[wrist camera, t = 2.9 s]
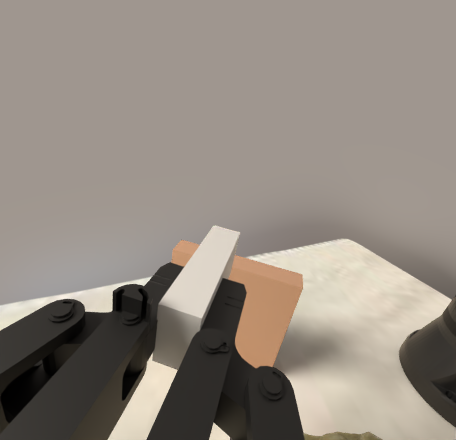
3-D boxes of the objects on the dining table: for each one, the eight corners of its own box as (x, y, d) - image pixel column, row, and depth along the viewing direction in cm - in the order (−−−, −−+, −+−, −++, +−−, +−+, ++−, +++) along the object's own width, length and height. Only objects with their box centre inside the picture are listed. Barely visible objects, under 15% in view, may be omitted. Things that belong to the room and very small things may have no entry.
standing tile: (270, 358, 34) (302, 273, 29) (268, 377, 32) (302, 288, 26) (171, 325, 36) (182, 238, 30) (162, 340, 34) (172, 249, 28)
